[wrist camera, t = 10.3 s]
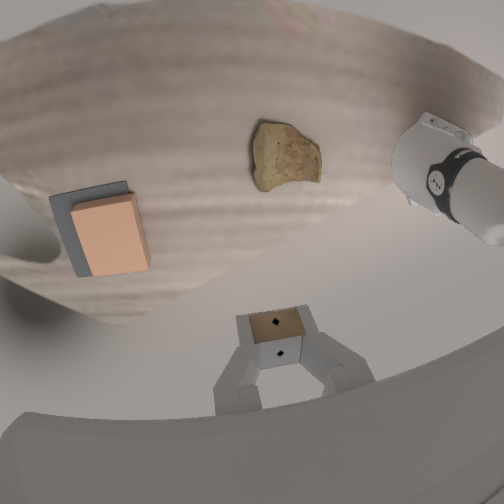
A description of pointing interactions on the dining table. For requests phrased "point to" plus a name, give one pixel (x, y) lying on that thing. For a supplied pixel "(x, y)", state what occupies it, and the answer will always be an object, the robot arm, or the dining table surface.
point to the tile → (112, 235)
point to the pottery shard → (284, 157)
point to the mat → (65, 223)
